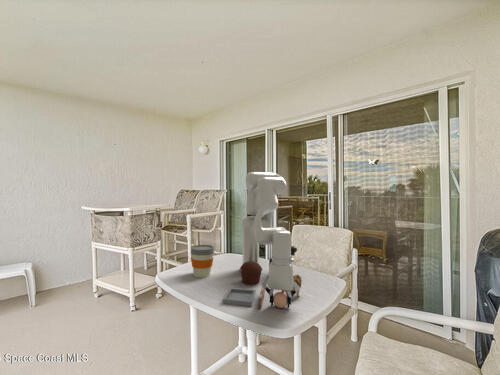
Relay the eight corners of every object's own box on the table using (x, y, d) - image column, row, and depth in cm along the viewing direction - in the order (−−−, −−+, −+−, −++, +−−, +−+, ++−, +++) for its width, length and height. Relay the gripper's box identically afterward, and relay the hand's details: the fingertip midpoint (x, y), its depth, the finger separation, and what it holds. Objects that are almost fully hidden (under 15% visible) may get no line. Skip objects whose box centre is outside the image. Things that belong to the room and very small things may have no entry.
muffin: (235, 282, 122) (235, 263, 122) (245, 276, 132) (246, 257, 132) (256, 287, 117) (256, 267, 117) (265, 280, 126) (266, 261, 127)
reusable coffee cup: (211, 279, 126) (211, 250, 127) (187, 278, 127) (188, 249, 127) (215, 271, 139) (215, 245, 139) (193, 270, 139) (194, 244, 139)
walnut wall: (261, 294, 109) (262, 286, 109) (264, 295, 109) (264, 286, 109) (258, 308, 96) (258, 298, 96) (261, 309, 96) (261, 299, 96)
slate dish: (230, 291, 112) (230, 287, 112) (255, 293, 110) (255, 289, 110) (223, 303, 100) (223, 299, 100) (251, 306, 98) (251, 301, 98)
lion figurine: (294, 291, 114) (294, 272, 114) (304, 294, 110) (304, 274, 111) (275, 301, 103) (276, 280, 103) (286, 305, 99) (286, 283, 100)
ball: (273, 302, 102) (273, 288, 102) (287, 304, 101) (288, 289, 101) (272, 309, 96) (272, 294, 96) (287, 311, 95) (287, 296, 95)
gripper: (302, 259, 100) (301, 303, 100) (261, 256, 103) (260, 299, 103) (303, 265, 93) (302, 312, 93) (259, 262, 96) (258, 307, 96)
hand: (280, 304), depth 98 cm, fingers closed on ball, 5 cm apart
